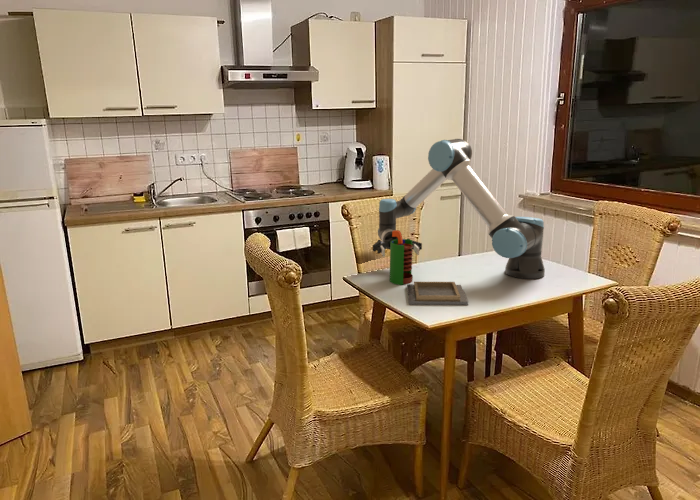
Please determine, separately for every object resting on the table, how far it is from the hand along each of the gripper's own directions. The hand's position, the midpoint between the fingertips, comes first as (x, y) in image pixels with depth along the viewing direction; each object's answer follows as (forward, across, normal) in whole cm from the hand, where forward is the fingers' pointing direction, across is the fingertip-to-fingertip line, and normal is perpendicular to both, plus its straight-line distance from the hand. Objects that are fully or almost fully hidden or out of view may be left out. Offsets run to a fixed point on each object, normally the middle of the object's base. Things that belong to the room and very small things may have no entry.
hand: (401, 252), depth 207 cm
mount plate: (+21, -8, -11) cm, 25 cm away
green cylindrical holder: (+3, 0, -11) cm, 11 cm away
